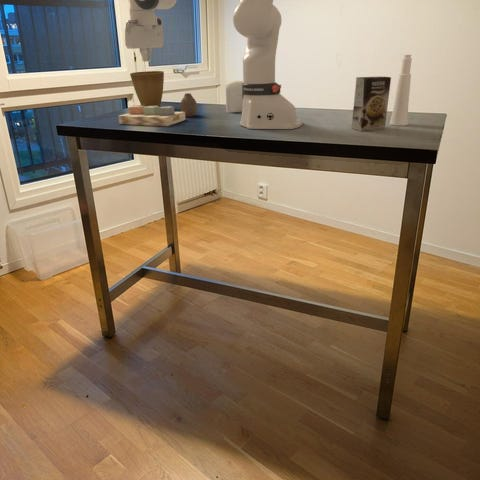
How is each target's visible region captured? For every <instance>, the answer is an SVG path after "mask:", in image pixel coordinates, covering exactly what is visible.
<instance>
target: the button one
mask: <svg viewBox="0 0 480 480" xmlns="http://www.w3.org/2000/svg"><path fill="white" fill-rule="evenodd" d="M143 107H145V106H141V105H132V106H129V107H128V111H129V113H130V114H139V115H140V114H143V113H144V110H143Z"/></svg>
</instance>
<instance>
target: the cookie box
mask: <svg viewBox="0 0 480 480" xmlns="http://www.w3.org/2000/svg"><path fill="white" fill-rule="evenodd" d="M391 80H392V77H390V76H363V77H362V76H361V77H359V76H357V77H356V78H355V89H354V99H353V108H352V121H351V128H352V129H355V130H357V131H360V132H365V131H377V130H385V129H386V121H387V113H388V104H389V98H390V97H389V96H390V91H391V90H390V89H391V82H392V81H391Z"/></svg>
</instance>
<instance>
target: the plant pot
mask: <svg viewBox="0 0 480 480" xmlns="http://www.w3.org/2000/svg"><path fill="white" fill-rule="evenodd" d="M129 76H130V79H131V82H132V86H133V89H134V91H135V95H136V96H137V98H138V99H137V100H138V101H139V103H140V106H145V107H147V106H159V108H160V107H161V104H162V100H163V94H164V91H163V90H164V82H165V81H164V80H165V78H164V77H165V72H164V71H163V70H149V71H136V72H130V73H129Z"/></svg>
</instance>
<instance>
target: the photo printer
mask: <svg viewBox="0 0 480 480" xmlns="http://www.w3.org/2000/svg"><path fill="white" fill-rule="evenodd" d="M242 83H243V80H234V81H231V82H230V81H229V82H228V83H226V84H225V107H226V109H225V110H226V113H227V114H233V113H242V109H243V98H242Z"/></svg>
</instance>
